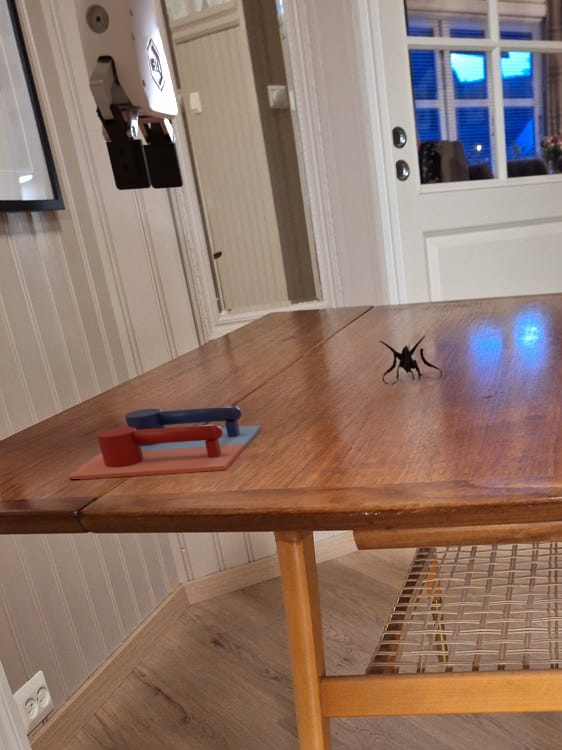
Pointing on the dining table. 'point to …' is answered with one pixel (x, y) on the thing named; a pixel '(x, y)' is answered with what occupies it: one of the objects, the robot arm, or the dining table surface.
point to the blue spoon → (184, 418)
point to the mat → (173, 458)
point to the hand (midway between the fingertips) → (152, 188)
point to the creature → (407, 361)
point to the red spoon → (152, 441)
